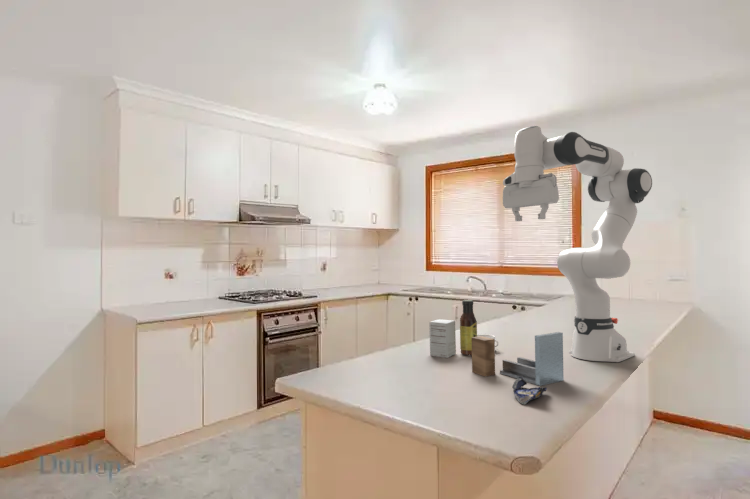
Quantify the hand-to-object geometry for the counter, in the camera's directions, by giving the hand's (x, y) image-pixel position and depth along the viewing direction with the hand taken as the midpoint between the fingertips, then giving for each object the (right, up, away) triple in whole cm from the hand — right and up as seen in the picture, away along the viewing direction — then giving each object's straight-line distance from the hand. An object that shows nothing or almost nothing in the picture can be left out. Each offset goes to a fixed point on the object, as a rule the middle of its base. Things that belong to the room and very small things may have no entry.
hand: (529, 220), depth 146 cm
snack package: (-10, -49, -27) cm, 57 cm away
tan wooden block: (-16, -48, -4) cm, 51 cm away
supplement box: (-25, -49, +22) cm, 59 cm away
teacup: (-7, -49, +29) cm, 57 cm away
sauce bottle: (-15, -49, +23) cm, 56 cm away
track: (-3, -48, -8) cm, 49 cm away
